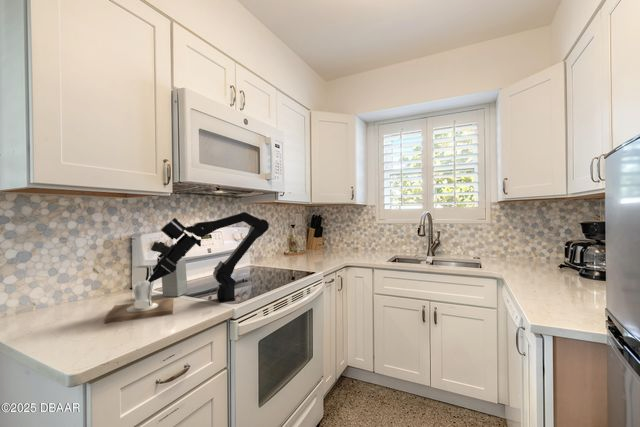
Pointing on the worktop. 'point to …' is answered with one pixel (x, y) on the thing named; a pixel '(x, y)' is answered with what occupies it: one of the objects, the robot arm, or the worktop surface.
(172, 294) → the skincare box
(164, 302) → the walnut board
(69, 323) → the worktop surface
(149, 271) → the beer glass
